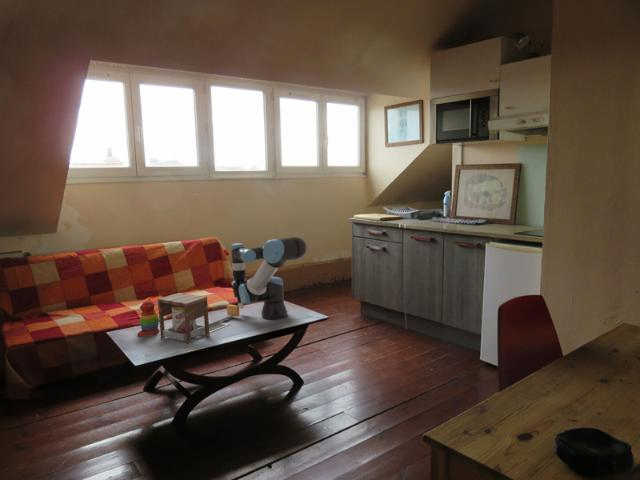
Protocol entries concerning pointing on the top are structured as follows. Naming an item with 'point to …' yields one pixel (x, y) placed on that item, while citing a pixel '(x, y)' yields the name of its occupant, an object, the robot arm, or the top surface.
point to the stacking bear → (148, 319)
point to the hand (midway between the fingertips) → (241, 307)
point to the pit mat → (216, 326)
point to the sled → (231, 311)
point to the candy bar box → (180, 320)
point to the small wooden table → (192, 309)
